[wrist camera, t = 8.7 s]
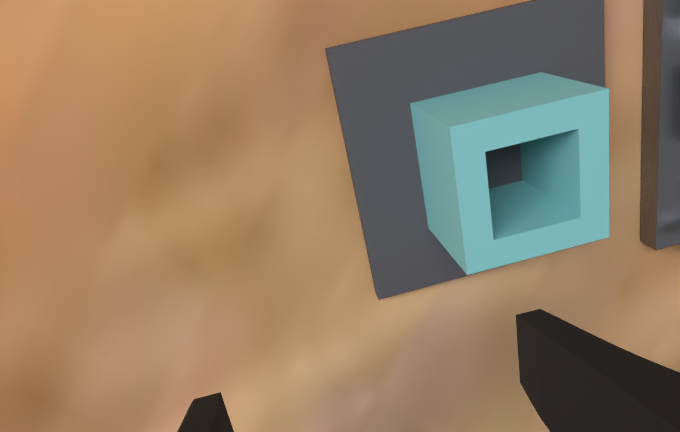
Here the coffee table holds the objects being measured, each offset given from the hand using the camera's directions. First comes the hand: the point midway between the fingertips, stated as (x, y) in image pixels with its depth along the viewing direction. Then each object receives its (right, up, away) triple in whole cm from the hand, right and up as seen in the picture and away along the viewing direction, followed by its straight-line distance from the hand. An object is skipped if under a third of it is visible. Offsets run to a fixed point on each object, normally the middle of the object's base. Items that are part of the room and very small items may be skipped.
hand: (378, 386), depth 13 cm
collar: (+4, +6, +8) cm, 11 cm away
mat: (+4, +7, +8) cm, 12 cm away
